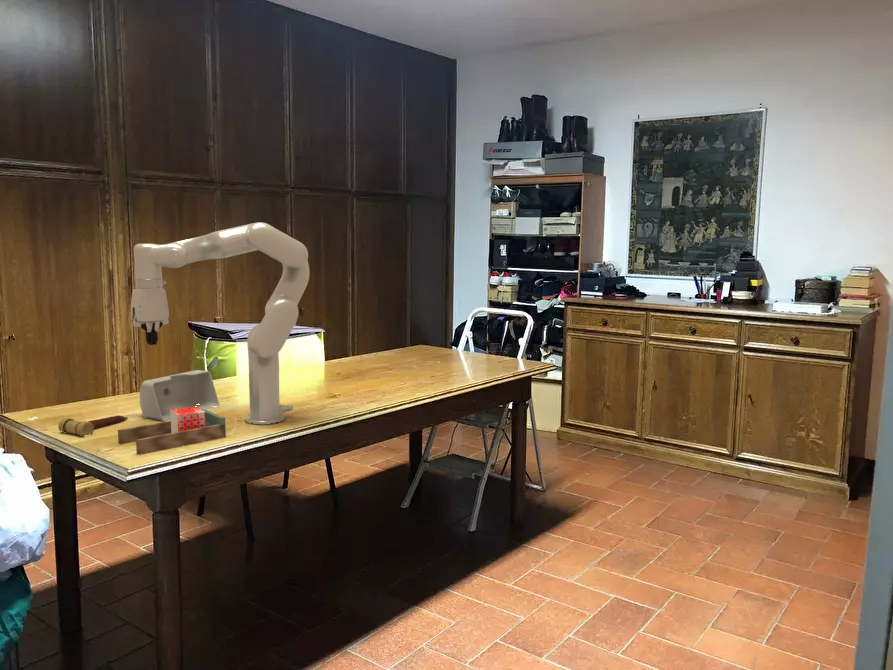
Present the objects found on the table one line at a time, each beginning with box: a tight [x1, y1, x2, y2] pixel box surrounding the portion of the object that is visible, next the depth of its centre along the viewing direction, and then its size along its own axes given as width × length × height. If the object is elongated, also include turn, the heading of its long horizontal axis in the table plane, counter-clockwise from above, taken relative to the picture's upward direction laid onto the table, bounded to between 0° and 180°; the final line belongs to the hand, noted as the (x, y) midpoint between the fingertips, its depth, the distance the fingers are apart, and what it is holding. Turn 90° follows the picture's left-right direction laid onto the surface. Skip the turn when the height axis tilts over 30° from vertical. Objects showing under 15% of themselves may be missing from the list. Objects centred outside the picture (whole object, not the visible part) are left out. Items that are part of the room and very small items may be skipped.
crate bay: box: [117, 409, 227, 455], centre depth 212 cm, size 26×14×6 cm, turn 135°
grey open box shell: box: [139, 369, 220, 422], centre depth 246 cm, size 25×16×12 cm, turn 152°
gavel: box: [58, 415, 128, 437], centre depth 225 cm, size 21×5×10 cm
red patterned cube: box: [170, 407, 205, 433], centre depth 216 cm, size 8×8×8 cm
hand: (152, 344), depth 221 cm, fingers closed
